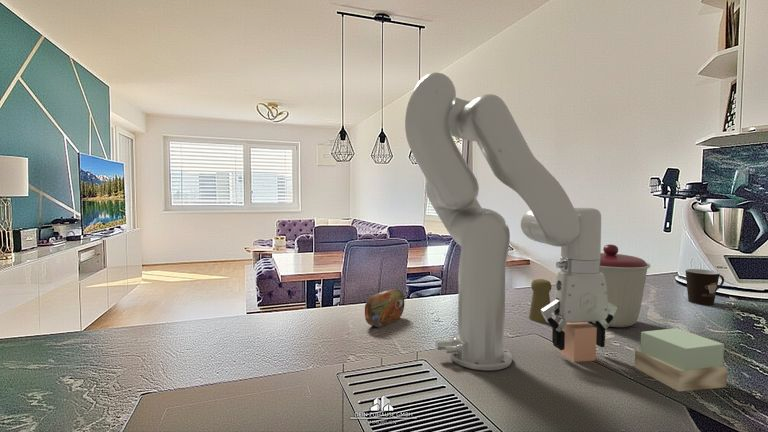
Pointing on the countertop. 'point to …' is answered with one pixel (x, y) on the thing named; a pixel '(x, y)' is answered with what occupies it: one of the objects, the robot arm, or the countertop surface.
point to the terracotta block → (580, 342)
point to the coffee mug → (702, 285)
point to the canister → (623, 284)
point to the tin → (384, 307)
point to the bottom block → (681, 374)
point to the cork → (539, 299)
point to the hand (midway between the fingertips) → (578, 346)
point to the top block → (682, 349)
